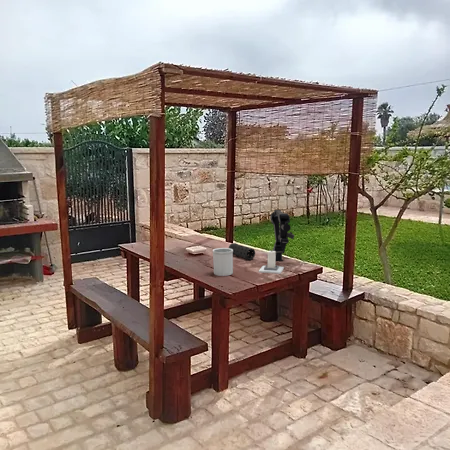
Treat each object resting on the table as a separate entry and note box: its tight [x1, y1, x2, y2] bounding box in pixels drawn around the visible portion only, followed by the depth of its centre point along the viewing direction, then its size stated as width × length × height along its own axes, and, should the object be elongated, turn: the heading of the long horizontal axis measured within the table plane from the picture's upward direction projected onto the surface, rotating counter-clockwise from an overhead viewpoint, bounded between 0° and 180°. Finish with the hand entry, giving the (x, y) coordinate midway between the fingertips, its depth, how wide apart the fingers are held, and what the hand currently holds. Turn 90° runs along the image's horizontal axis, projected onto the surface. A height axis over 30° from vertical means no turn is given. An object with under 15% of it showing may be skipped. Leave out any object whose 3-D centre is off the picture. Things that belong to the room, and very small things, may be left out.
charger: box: [267, 250, 276, 268], centre depth 318 cm, size 5×5×13 cm
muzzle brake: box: [228, 242, 256, 261], centre depth 362 cm, size 10×28×10 cm, turn 32°
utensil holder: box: [212, 247, 234, 277], centre depth 311 cm, size 15×15×18 cm
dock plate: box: [258, 264, 285, 275], centre depth 319 cm, size 16×16×3 cm
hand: (283, 249), depth 335 cm, fingers open, 9 cm apart
